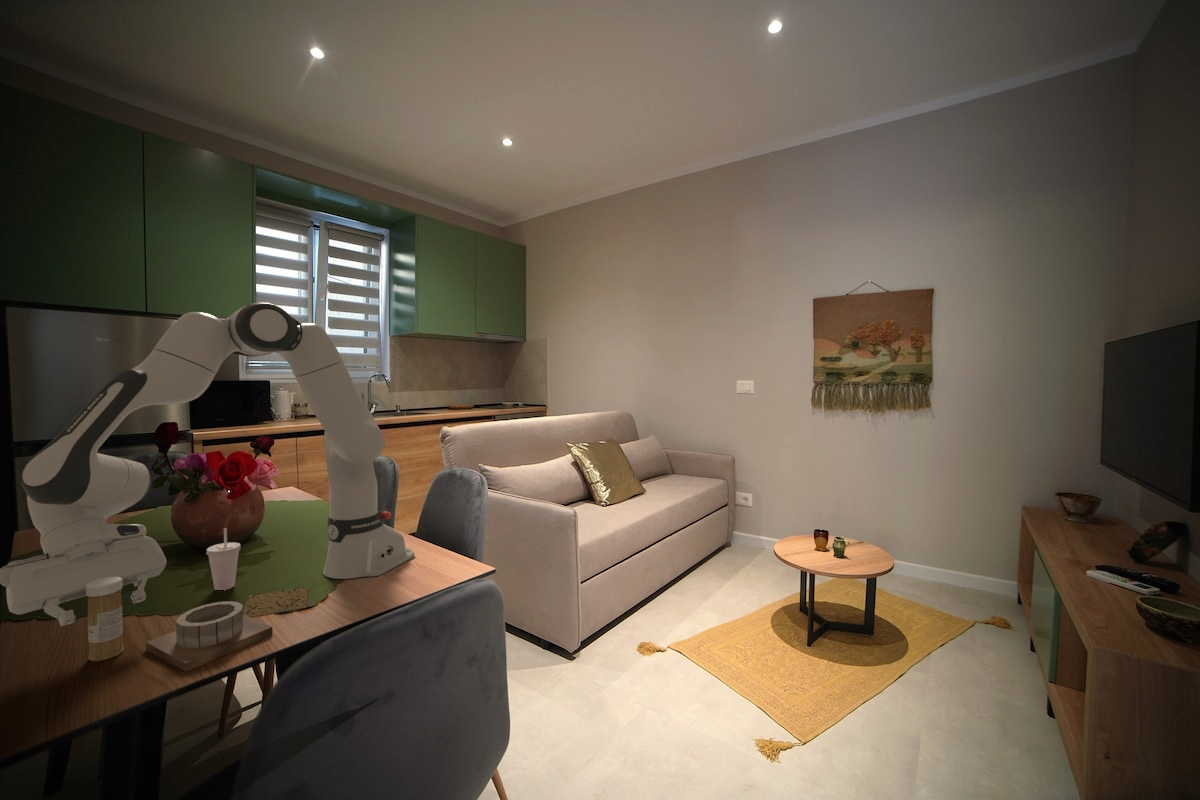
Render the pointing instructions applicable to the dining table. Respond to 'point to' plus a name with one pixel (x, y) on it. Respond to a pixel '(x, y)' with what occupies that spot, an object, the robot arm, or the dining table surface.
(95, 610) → the sprinkles bottle
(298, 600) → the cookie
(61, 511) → the robot arm
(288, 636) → the dining table surface
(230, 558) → the smoothie
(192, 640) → the collar stand
